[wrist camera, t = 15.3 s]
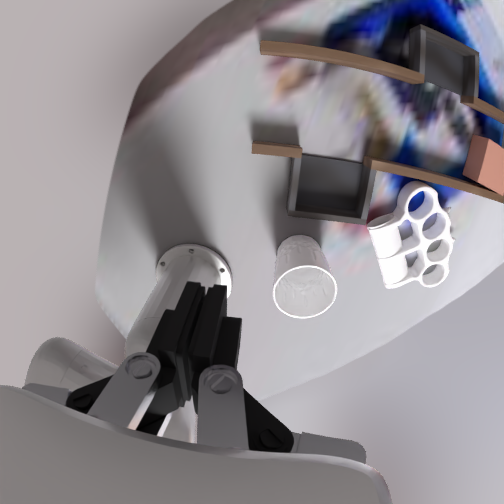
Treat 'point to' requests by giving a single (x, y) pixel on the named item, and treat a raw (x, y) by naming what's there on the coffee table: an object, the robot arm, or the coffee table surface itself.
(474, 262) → the coffee table surface
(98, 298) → the coffee table surface
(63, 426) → the robot arm
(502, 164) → the salmon pink square block
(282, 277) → the white cup
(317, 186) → the channel
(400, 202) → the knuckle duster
